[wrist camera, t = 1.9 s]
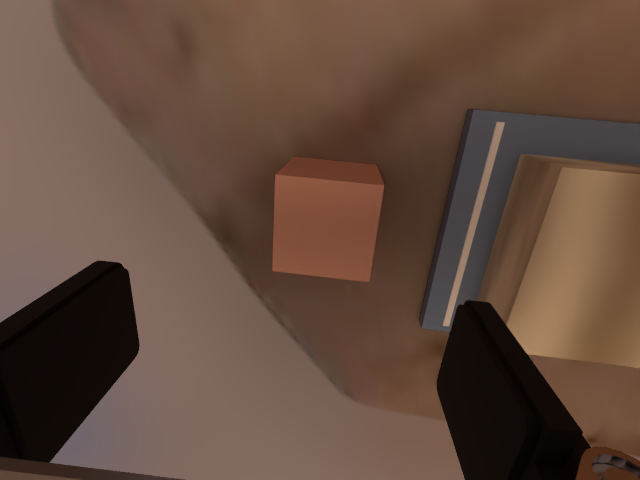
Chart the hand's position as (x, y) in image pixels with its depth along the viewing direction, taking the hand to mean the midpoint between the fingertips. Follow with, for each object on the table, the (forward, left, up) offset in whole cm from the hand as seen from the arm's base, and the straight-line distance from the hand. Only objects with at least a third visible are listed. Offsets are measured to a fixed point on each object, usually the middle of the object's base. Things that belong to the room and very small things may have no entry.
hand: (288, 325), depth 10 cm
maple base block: (-15, +1, -12) cm, 19 cm away
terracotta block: (0, 0, -13) cm, 13 cm away
